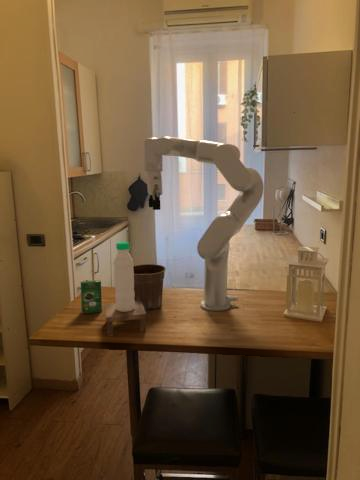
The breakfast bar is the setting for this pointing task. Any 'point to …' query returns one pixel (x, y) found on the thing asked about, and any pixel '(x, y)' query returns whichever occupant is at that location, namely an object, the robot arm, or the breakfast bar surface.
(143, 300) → the plant pot
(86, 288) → the coffee box
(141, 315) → the small square stand
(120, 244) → the water bottle
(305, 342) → the breakfast bar surface
